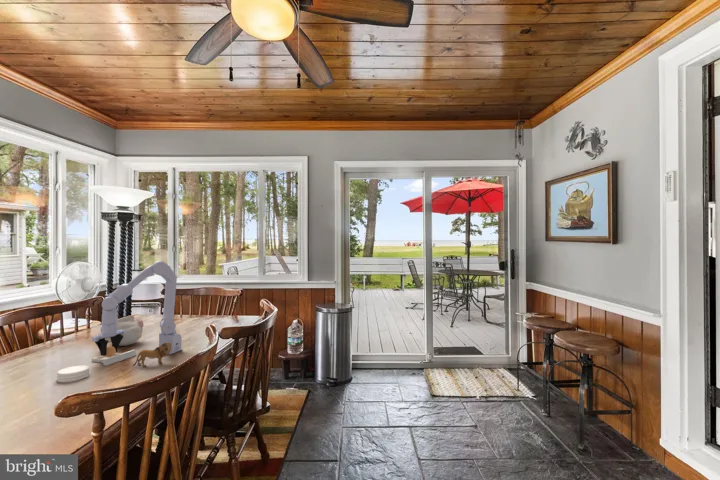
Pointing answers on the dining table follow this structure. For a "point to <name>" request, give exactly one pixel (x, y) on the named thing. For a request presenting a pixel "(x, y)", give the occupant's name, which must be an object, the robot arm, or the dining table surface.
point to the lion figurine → (154, 354)
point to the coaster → (73, 373)
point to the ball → (110, 351)
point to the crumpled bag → (129, 330)
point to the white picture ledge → (119, 357)
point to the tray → (101, 358)
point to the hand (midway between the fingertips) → (109, 353)
